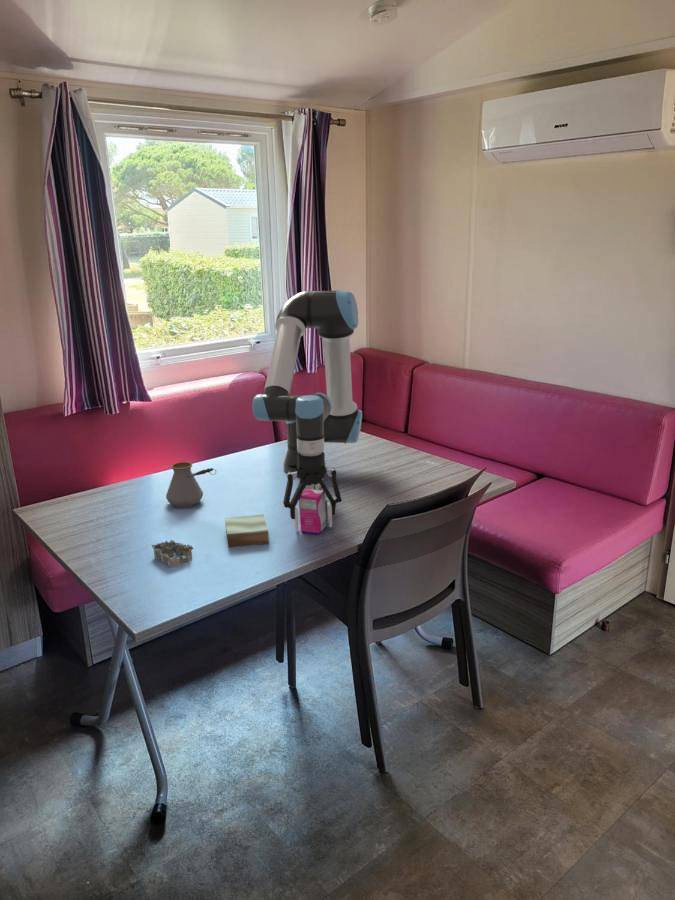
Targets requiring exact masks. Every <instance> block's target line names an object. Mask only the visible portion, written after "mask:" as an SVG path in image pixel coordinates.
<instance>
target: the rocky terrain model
mask: <svg viewBox="0 0 675 900" xmlns="http://www.w3.org/2000/svg"><path fill="white" fill-rule="evenodd" d="M150 546H151V548H152V549H153V556H154V557H153V558H154V559H155V560H158V559H160V560H161V563H163V564H165V563H168V564H167V565H168V567H169V568H172V567H173V568H174V567H176V568H179V567H181V564H182V563H191V562H192V559H193V550H194V546H192V545H190V544H187V545H186V544H183V543H181V542H176V541H175V540H172V539H171V540H169V541H168V540H165V542H164V541H162V542H158V543H157V544H151V545H150ZM175 549H176V550H175ZM175 552H177V553H176V554H180V553H182V555H181V554H180V556H179V557H175ZM190 561H191V562H190Z"/></svg>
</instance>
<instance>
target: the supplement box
mask: <svg viewBox="0 0 675 900" xmlns="http://www.w3.org/2000/svg"><path fill="white" fill-rule="evenodd" d="M325 497H326V494H325V492H324V491H323V490H312V489H306V490H305V491H304V492H303V493H302V494H301V496H300V498H299V500H298V505H299V521H300V533H302V534H310V535H315V536H319V535H321V534H322V533H323V532H324V531H325V529H327V520H326V519H327V516H326V498H325Z"/></svg>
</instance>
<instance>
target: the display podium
mask: <svg viewBox="0 0 675 900" xmlns="http://www.w3.org/2000/svg"><path fill="white" fill-rule="evenodd" d="M224 521H225V532H226V534H227V535H226V534H225V535H226V541H227V548H228V547H230V548H238V547H237V546H239V547H247V545H248V546H256V545H257V546H258V545H265V544H266V545H267V544H269V529H268V525H267V522H266V519H265V515H264V514H253V515H245V516H243V515H241V516H232V517H225V518H224Z"/></svg>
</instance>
